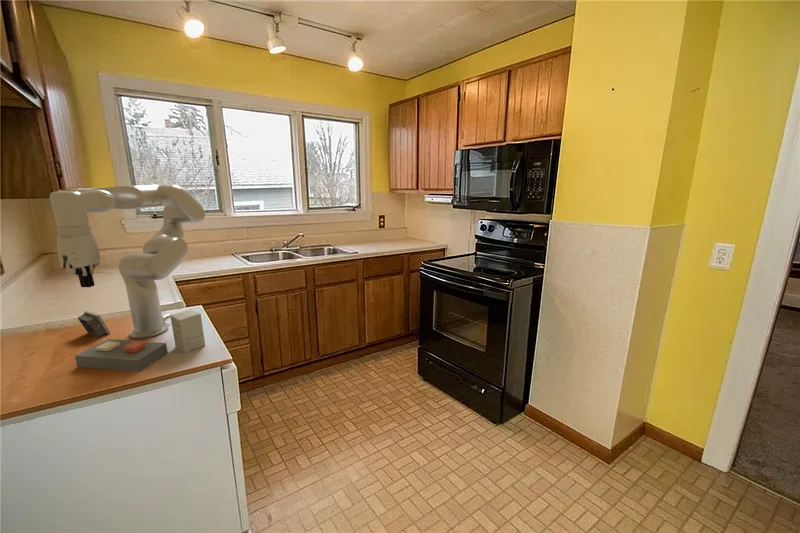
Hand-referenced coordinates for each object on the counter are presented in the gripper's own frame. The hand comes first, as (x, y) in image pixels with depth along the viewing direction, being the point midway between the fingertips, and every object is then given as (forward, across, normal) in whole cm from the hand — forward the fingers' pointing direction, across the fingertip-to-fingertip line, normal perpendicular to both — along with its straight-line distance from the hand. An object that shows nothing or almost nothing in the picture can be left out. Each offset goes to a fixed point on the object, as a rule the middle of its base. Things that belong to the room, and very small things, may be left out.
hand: (87, 286), depth 115 cm
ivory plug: (+24, +3, +5) cm, 24 cm away
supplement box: (+25, -7, +26) cm, 37 cm away
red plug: (+22, +4, +15) cm, 27 cm away
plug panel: (+25, +4, +10) cm, 27 cm away
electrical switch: (+25, -15, -16) cm, 33 cm away
